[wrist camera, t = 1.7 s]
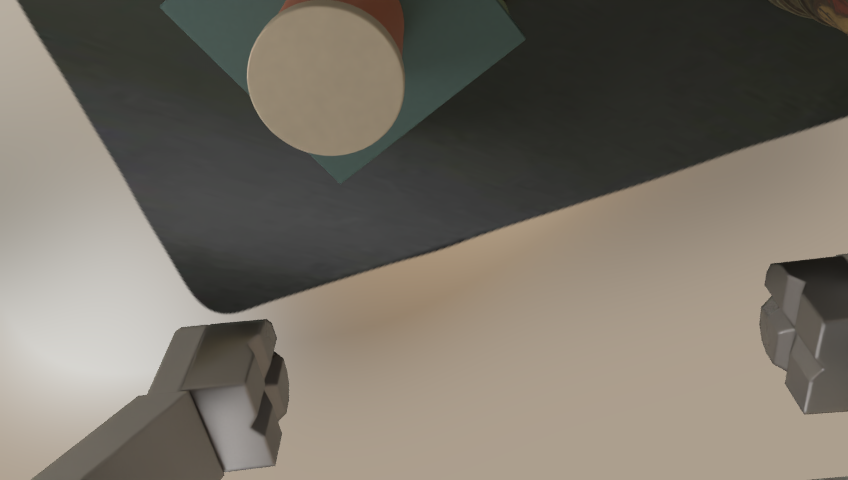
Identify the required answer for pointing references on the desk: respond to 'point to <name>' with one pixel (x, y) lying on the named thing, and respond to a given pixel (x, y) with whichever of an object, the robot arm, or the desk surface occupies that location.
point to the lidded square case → (422, 53)
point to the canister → (329, 73)
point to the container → (819, 11)
